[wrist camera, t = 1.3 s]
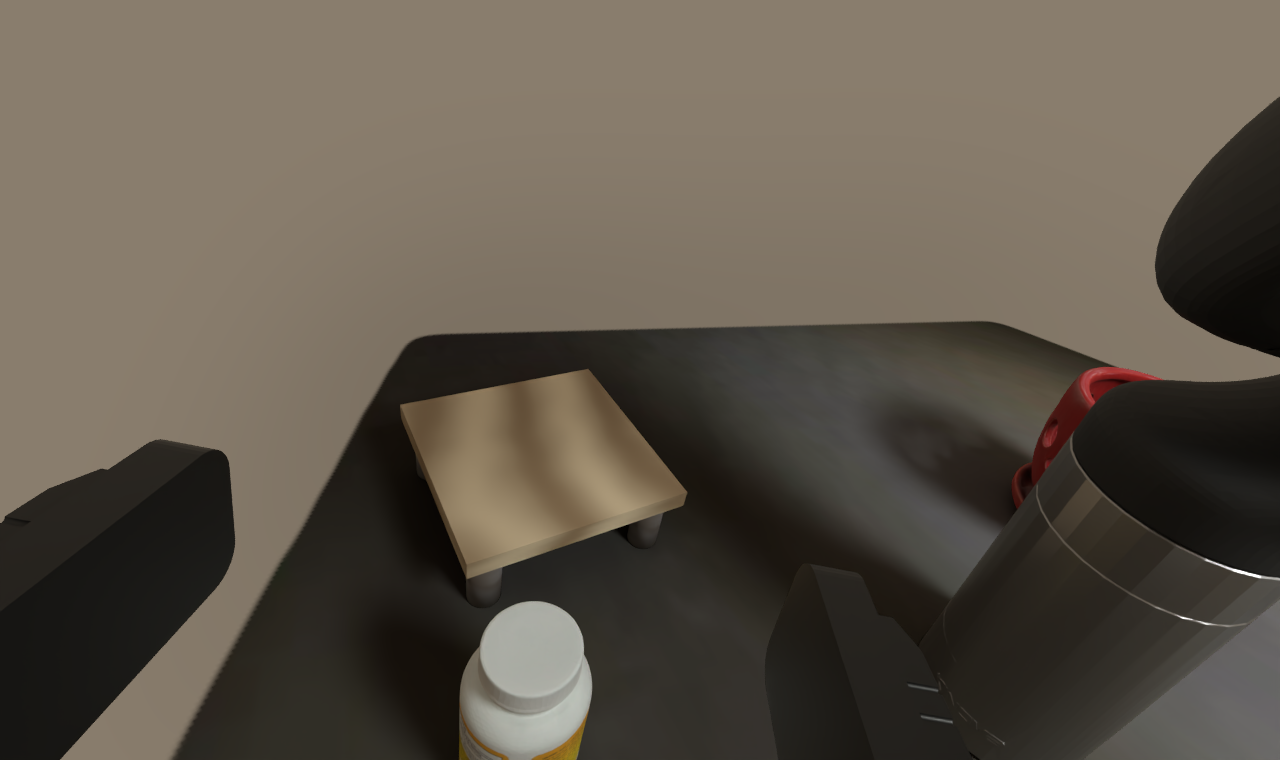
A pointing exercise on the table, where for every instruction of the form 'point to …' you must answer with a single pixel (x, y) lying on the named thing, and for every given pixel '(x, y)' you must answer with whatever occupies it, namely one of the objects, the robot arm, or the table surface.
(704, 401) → the table surface
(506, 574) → the table surface
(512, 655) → the supplement bottle
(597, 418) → the peg shelf
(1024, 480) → the plant pot
